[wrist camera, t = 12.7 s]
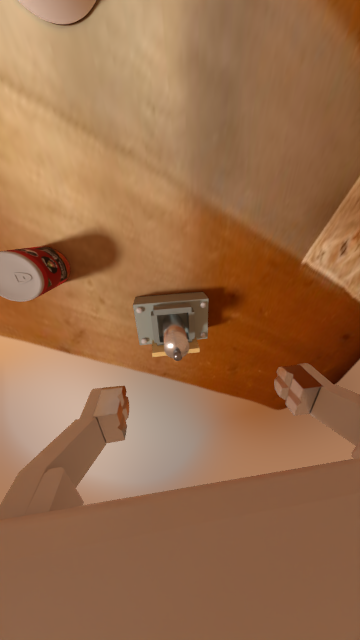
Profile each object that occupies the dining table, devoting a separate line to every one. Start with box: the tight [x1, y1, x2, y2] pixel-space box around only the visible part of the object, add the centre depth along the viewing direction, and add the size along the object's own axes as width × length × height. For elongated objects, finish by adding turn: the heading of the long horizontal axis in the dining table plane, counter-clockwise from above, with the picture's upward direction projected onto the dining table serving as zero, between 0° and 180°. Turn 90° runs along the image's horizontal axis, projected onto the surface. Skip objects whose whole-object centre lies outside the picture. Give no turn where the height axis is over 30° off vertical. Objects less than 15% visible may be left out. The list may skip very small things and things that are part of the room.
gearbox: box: [133, 292, 208, 357], centre depth 40 cm, size 10×16×10 cm, turn 92°
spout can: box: [163, 314, 189, 361], centre depth 35 cm, size 4×4×11 cm
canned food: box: [0, 247, 70, 301], centre depth 32 cm, size 8×8×11 cm
